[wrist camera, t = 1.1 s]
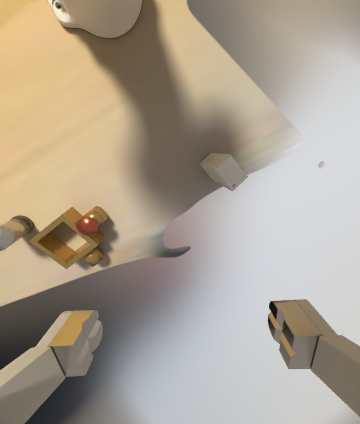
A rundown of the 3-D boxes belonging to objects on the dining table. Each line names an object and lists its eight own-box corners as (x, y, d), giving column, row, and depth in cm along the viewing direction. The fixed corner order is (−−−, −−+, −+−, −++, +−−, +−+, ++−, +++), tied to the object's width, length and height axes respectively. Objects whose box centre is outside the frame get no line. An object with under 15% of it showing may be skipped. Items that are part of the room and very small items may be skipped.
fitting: (41, 231, 43) (24, 244, 37) (87, 194, 41) (76, 202, 35) (86, 265, 48) (77, 282, 42) (128, 234, 47) (124, 247, 41)
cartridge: (6, 223, 41) (-31, 243, 33) (20, 211, 40) (-14, 228, 32) (24, 236, 43) (-6, 258, 34) (38, 225, 42) (10, 245, 34)
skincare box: (225, 169, 44) (249, 177, 33) (212, 180, 45) (232, 192, 34) (210, 151, 42) (231, 153, 31) (198, 164, 43) (214, 170, 32)
